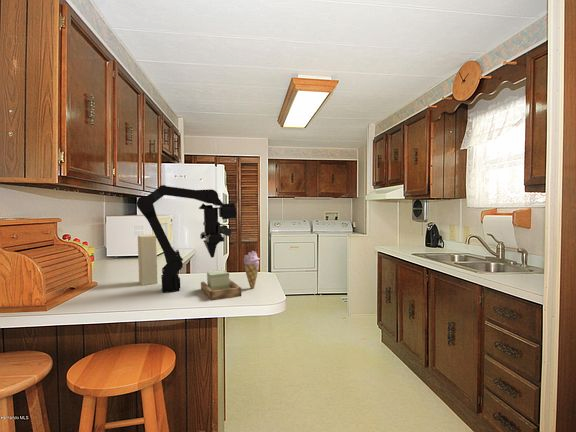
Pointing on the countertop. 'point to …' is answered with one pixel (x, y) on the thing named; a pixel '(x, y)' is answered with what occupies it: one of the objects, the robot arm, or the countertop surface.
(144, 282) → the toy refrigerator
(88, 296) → the countertop surface
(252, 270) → the ice cream cone
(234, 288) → the bay
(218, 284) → the pale green block
